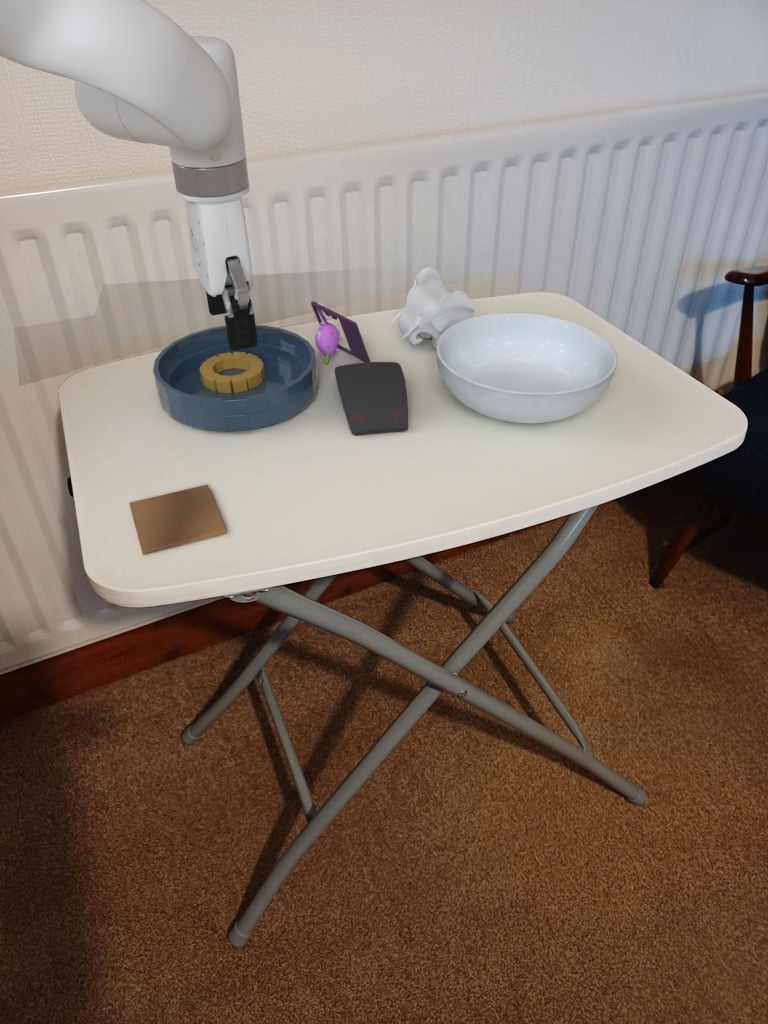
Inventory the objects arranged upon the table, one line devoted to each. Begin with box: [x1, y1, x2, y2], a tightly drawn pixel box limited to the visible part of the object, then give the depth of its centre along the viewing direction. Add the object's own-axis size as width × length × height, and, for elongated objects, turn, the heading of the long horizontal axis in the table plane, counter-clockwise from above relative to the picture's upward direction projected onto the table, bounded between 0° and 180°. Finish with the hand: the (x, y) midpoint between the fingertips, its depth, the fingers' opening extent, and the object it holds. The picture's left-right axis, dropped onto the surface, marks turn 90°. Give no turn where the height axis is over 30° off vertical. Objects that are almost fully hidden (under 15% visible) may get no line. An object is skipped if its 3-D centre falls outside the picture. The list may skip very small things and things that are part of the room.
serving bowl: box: [435, 311, 619, 424], centre depth 93 cm, size 21×21×7 cm
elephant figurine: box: [387, 266, 476, 349], centre depth 105 cm, size 10×12×9 cm
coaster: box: [128, 484, 227, 556], centre depth 77 cm, size 8×8×1 cm
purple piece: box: [310, 300, 371, 365], centre depth 102 cm, size 7×5×9 cm
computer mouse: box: [334, 361, 409, 436], centre depth 93 cm, size 8×14×4 cm, turn 9°
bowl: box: [152, 324, 319, 432], centre depth 96 cm, size 19×19×4 cm
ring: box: [200, 352, 265, 393], centre depth 98 cm, size 8×8×2 cm
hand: (232, 329), depth 92 cm, fingers open, 9 cm apart
